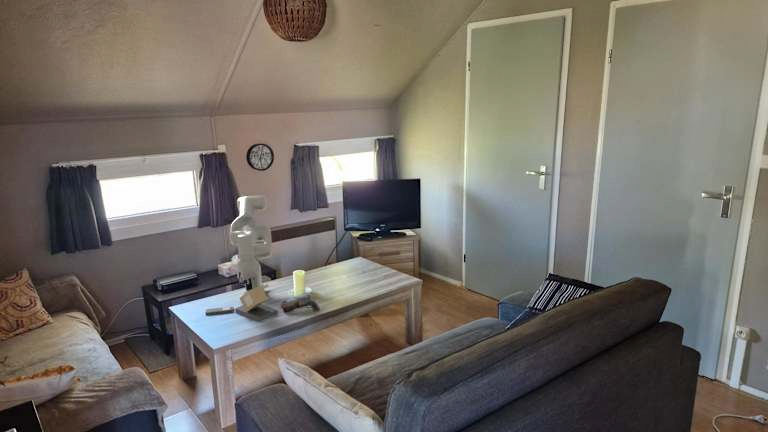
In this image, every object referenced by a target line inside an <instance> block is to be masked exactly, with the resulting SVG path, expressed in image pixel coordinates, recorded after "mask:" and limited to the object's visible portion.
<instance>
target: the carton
mask: <svg viewBox="0 0 768 432" xmlns="http://www.w3.org/2000/svg"><path fill="white" fill-rule="evenodd" d="M264 290H265V289H264ZM264 290H263V288H262V286H259V287H256V288H254V289H251V290H249V291H248V292H246V293H245V294H244V295H243V294H242V296H240V297H239V301H240V303H241V305H243V306H244V308H245V310H246V312H247V311H250V310H252V309H254V308H256V307H259V306H260V305H261V304H264V303H265V302H267V301H268V300H269V298H268V296H267V293H266V291H265V292H264Z"/></svg>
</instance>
